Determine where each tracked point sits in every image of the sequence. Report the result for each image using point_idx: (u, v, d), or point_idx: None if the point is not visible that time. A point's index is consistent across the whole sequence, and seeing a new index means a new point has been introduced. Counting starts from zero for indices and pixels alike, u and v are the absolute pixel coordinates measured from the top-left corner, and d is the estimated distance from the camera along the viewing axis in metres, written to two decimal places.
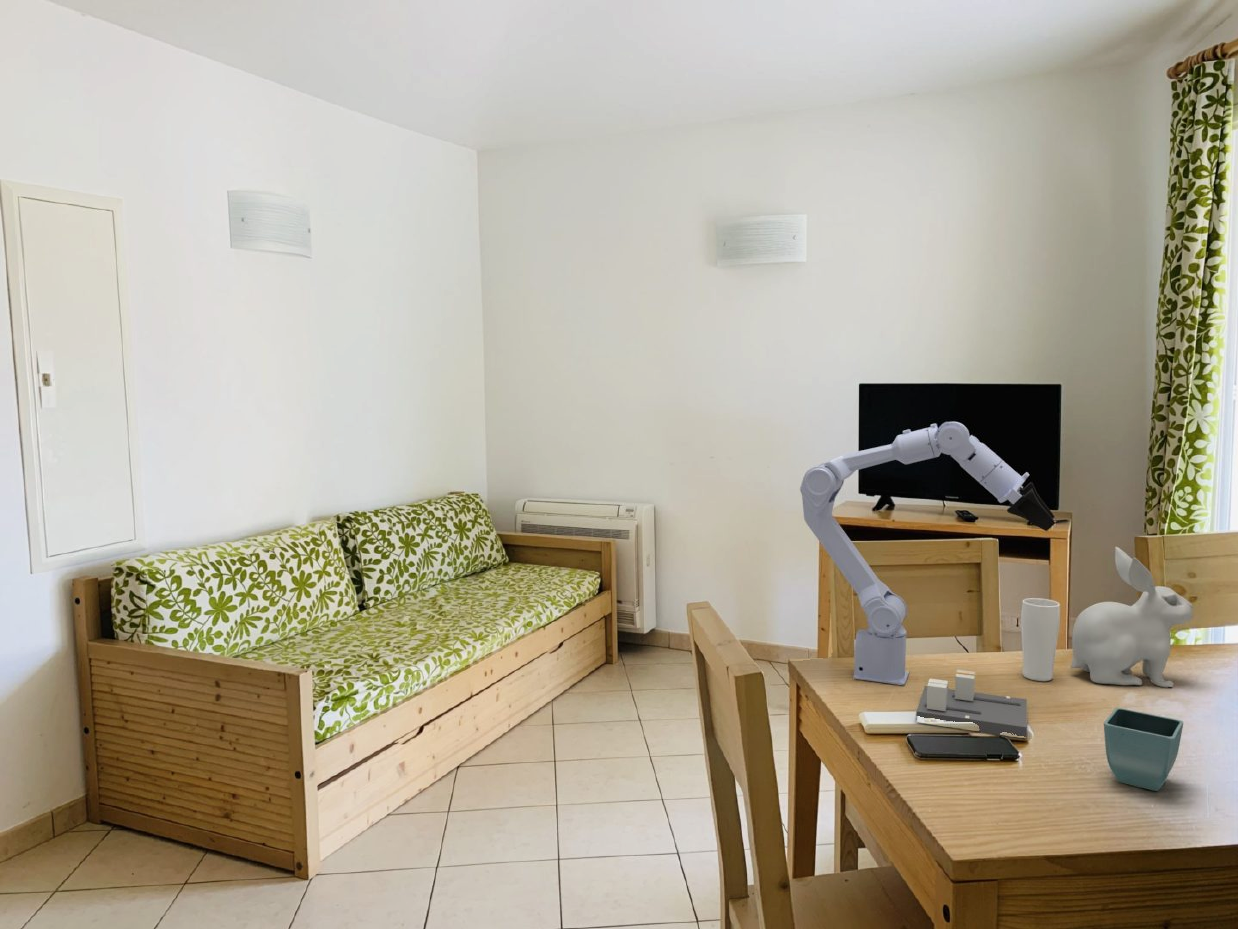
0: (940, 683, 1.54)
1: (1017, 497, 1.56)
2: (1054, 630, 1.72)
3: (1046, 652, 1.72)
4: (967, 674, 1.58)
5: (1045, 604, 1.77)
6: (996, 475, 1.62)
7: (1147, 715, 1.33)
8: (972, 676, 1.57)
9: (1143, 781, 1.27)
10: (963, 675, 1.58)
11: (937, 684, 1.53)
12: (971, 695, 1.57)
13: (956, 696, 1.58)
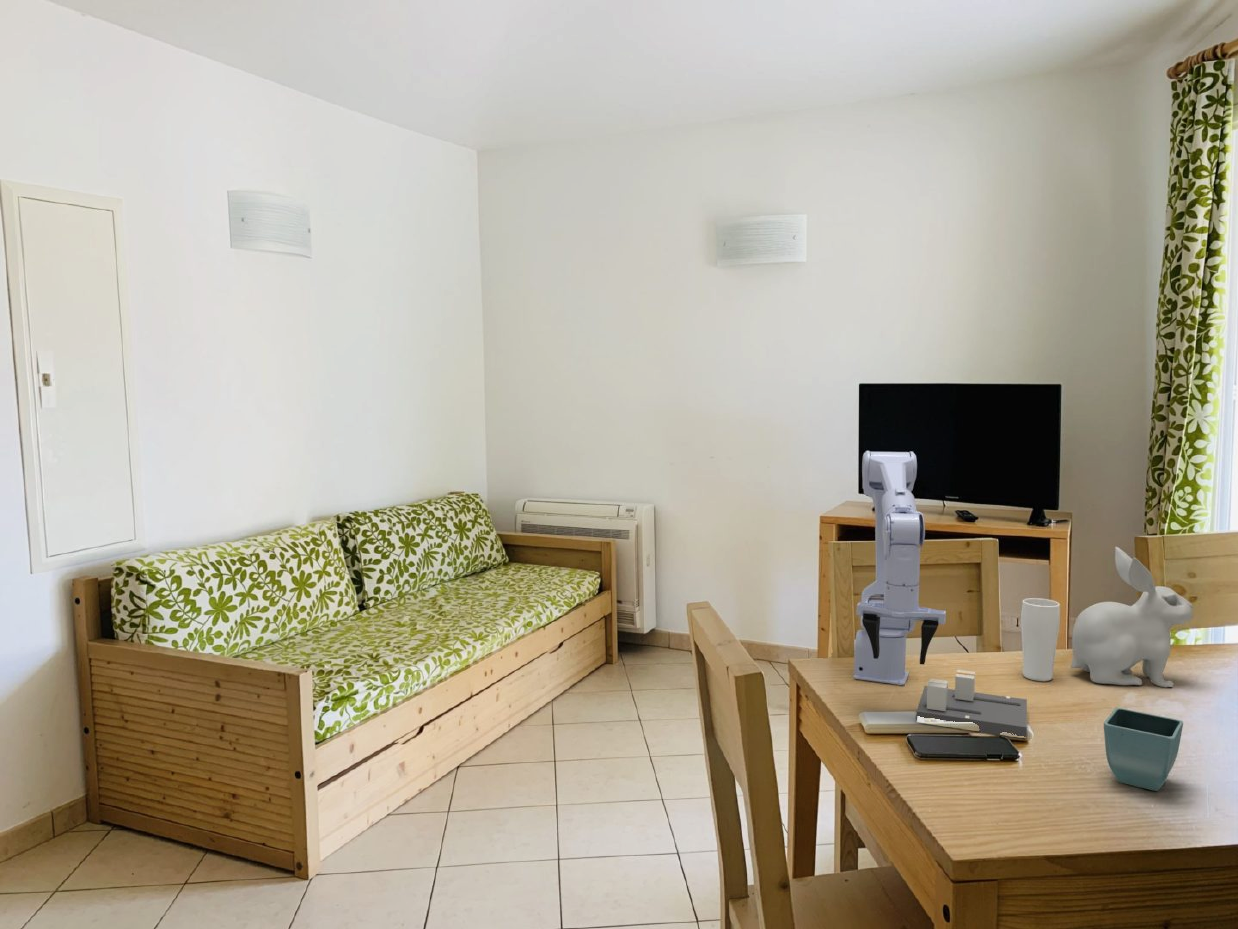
0: (940, 683, 1.54)
1: (857, 612, 1.58)
2: (1054, 630, 1.72)
3: (1046, 652, 1.72)
4: (967, 674, 1.58)
5: (1045, 604, 1.77)
6: (884, 587, 1.56)
7: (1147, 715, 1.33)
8: (972, 676, 1.57)
9: (1143, 781, 1.27)
10: (963, 675, 1.58)
11: (937, 684, 1.53)
12: (971, 695, 1.57)
13: (956, 696, 1.58)
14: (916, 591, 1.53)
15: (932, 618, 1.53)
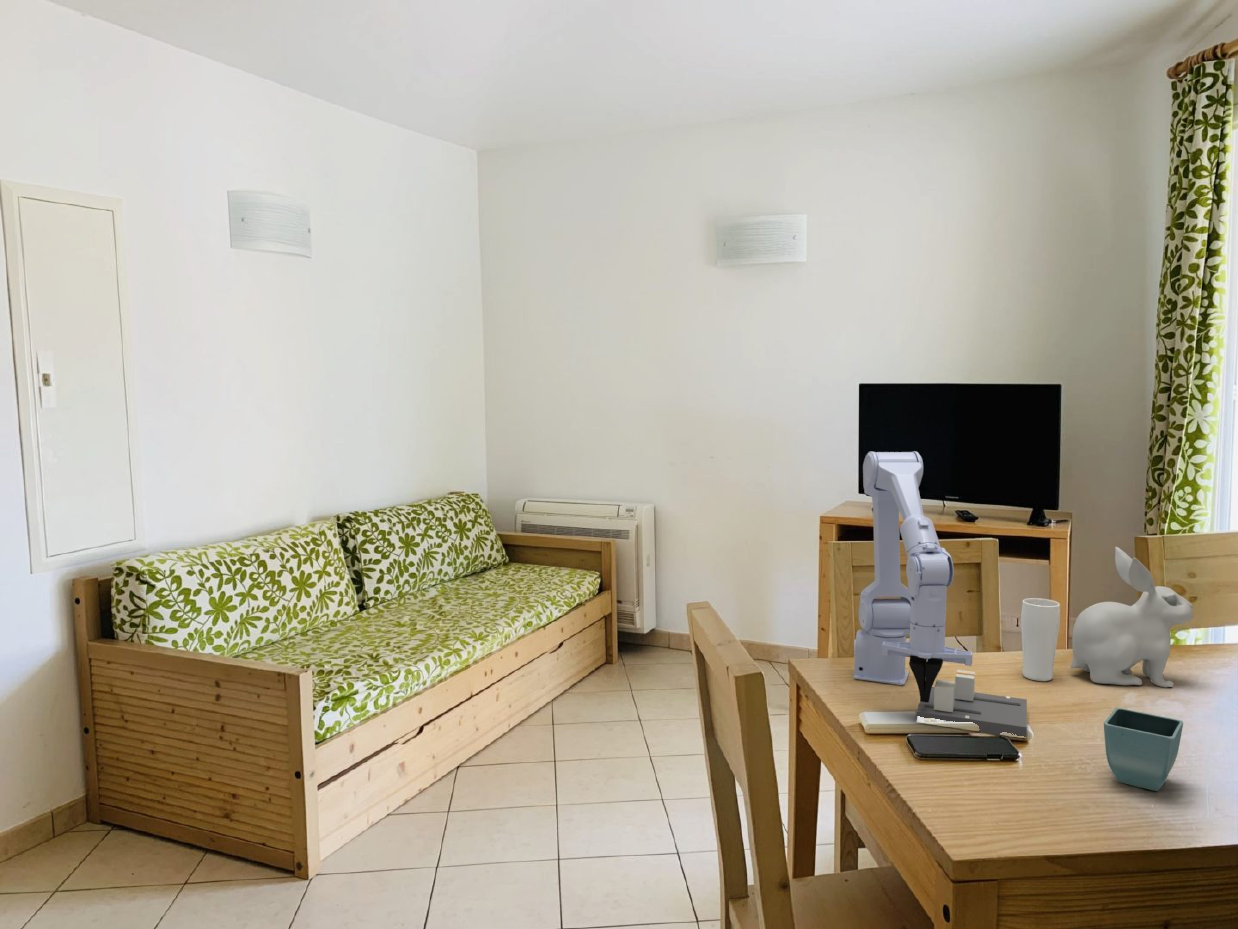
0: (947, 684, 1.53)
1: (882, 652, 1.57)
2: (1054, 630, 1.72)
3: (1046, 652, 1.72)
4: (967, 674, 1.58)
5: (1045, 604, 1.77)
6: (909, 627, 1.55)
7: (1147, 715, 1.33)
8: (972, 676, 1.57)
9: (1143, 781, 1.27)
10: (963, 675, 1.58)
11: (944, 685, 1.53)
12: (971, 695, 1.57)
13: (956, 696, 1.58)
14: (943, 631, 1.52)
15: (959, 659, 1.52)
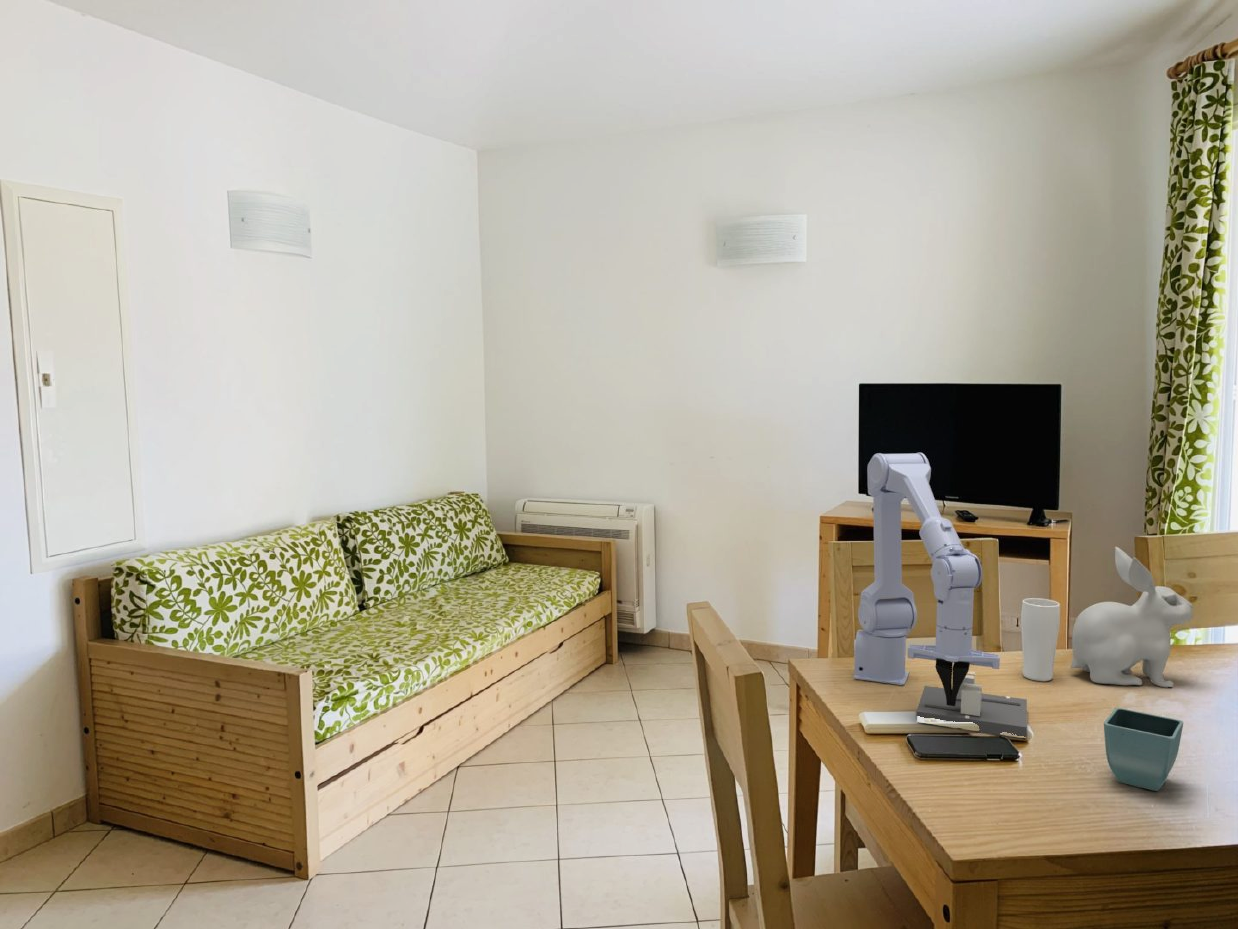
0: (974, 687, 1.51)
1: None
2: (1054, 630, 1.72)
3: (1046, 652, 1.72)
4: (967, 674, 1.58)
5: (1045, 604, 1.77)
6: (936, 630, 1.53)
7: (1147, 715, 1.33)
8: (972, 676, 1.57)
9: (1143, 781, 1.27)
10: None
11: (971, 689, 1.51)
12: None
13: None
14: (970, 634, 1.50)
15: (986, 662, 1.50)
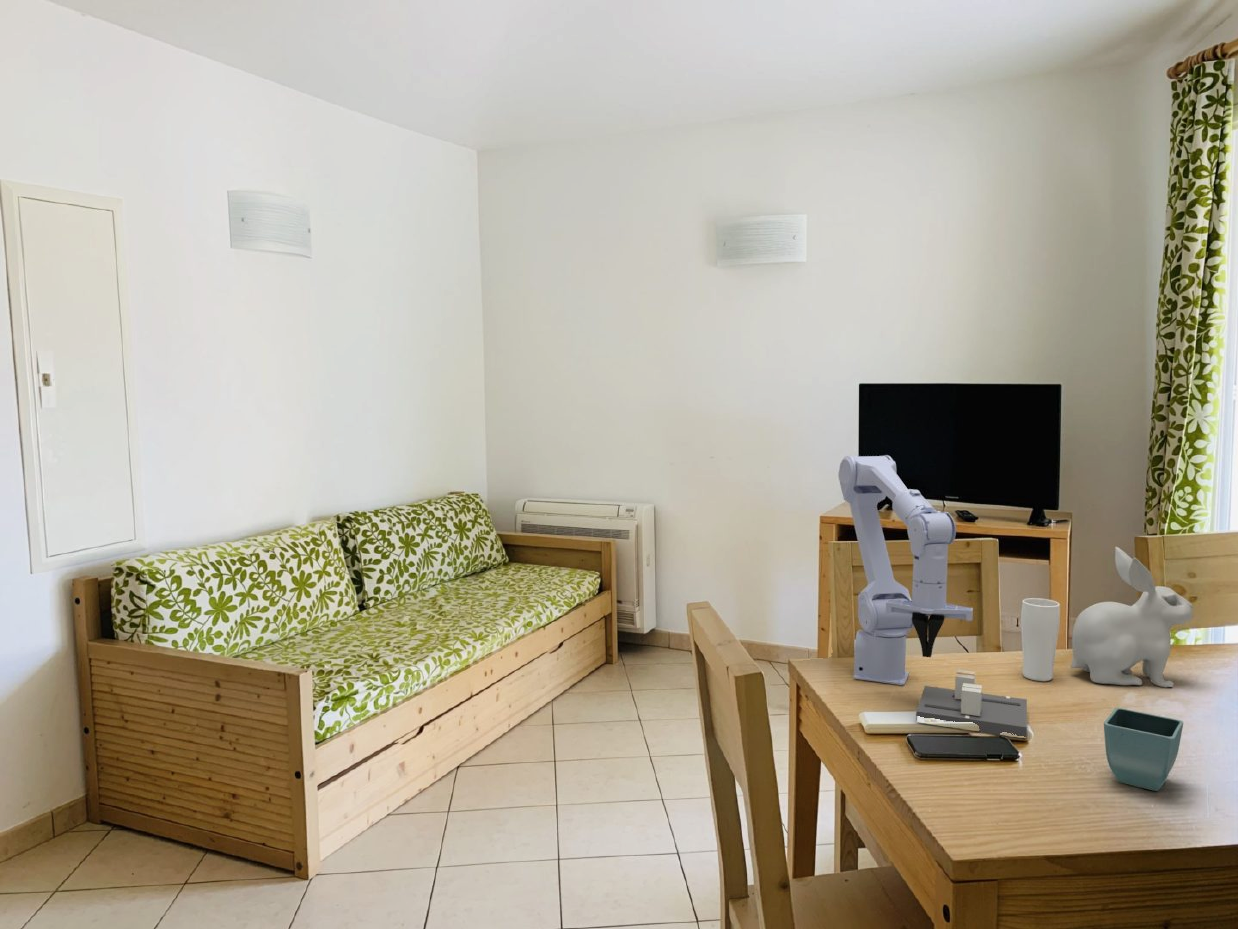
0: (974, 687, 1.51)
1: (886, 609, 1.63)
2: (1054, 630, 1.72)
3: (1046, 652, 1.72)
4: (967, 674, 1.58)
5: (1045, 604, 1.77)
6: None
7: (1147, 715, 1.33)
8: (972, 676, 1.57)
9: (1143, 781, 1.27)
10: (963, 675, 1.58)
11: (971, 689, 1.51)
12: None
13: (956, 696, 1.58)
14: (944, 588, 1.58)
15: (959, 615, 1.58)
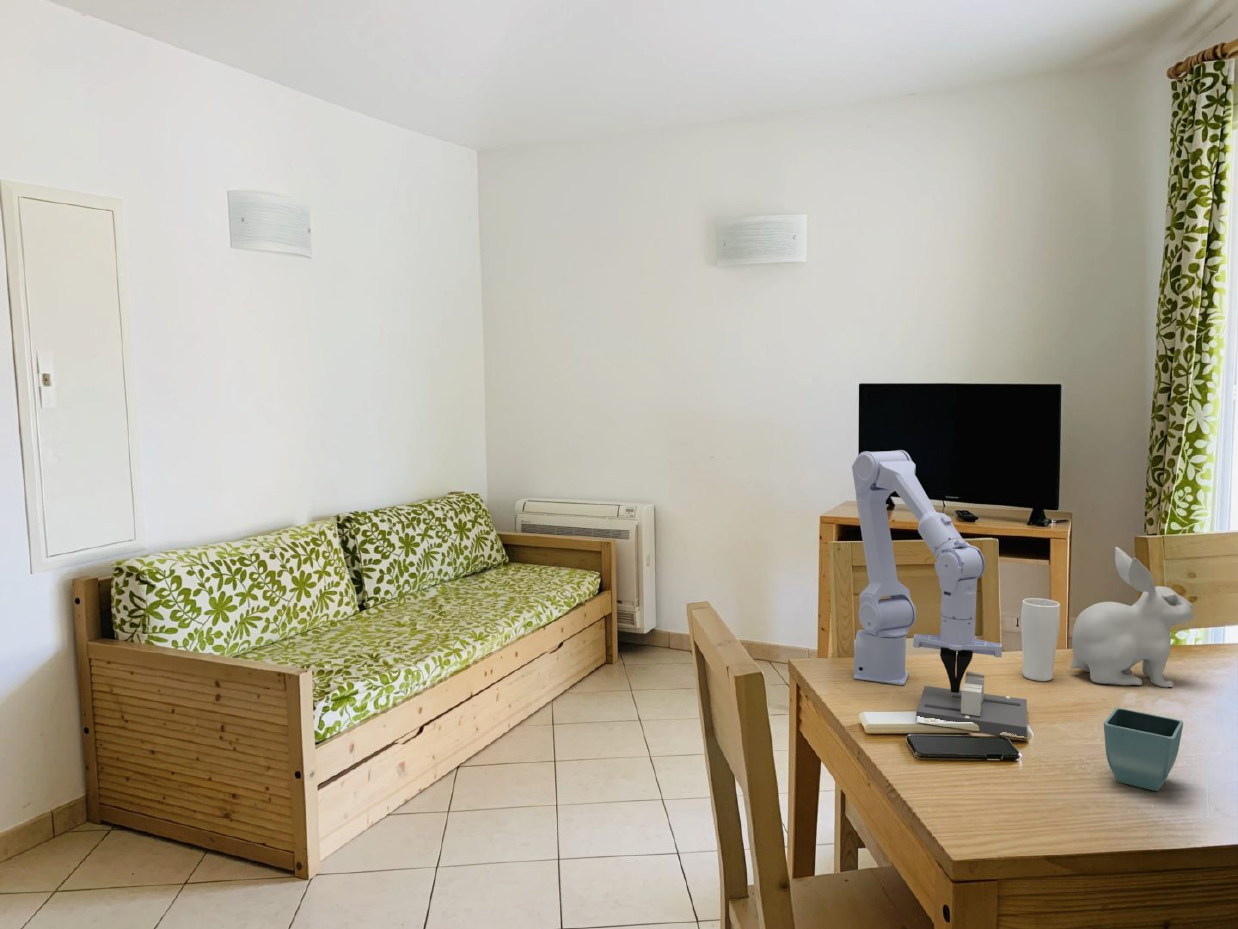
0: (974, 687, 1.51)
1: (913, 644, 1.61)
2: (1054, 630, 1.72)
3: (1045, 652, 1.72)
4: (977, 675, 1.58)
5: (1045, 604, 1.77)
6: None
7: (1147, 715, 1.33)
8: (982, 677, 1.57)
9: (1143, 781, 1.27)
10: (973, 676, 1.57)
11: (971, 689, 1.51)
12: None
13: None
14: (973, 624, 1.56)
15: (988, 651, 1.56)
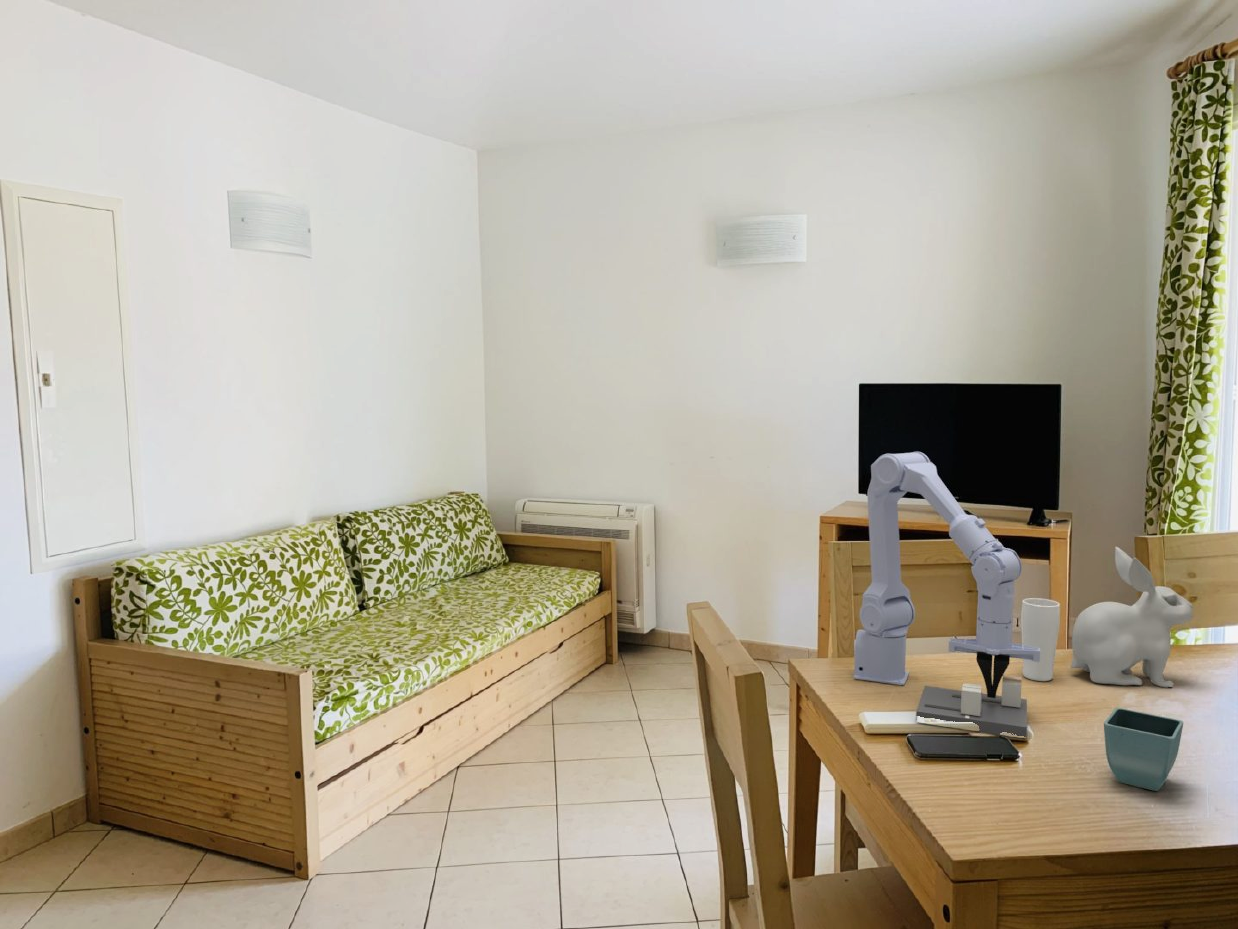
0: (974, 687, 1.51)
1: None
2: (1054, 630, 1.72)
3: (1045, 652, 1.72)
4: (1014, 680, 1.55)
5: (1045, 604, 1.77)
6: None
7: (1147, 715, 1.33)
8: (1019, 682, 1.54)
9: (1143, 781, 1.27)
10: (1010, 681, 1.55)
11: (971, 689, 1.51)
12: (1018, 701, 1.54)
13: (1003, 702, 1.55)
14: (1010, 628, 1.54)
15: (1026, 655, 1.54)
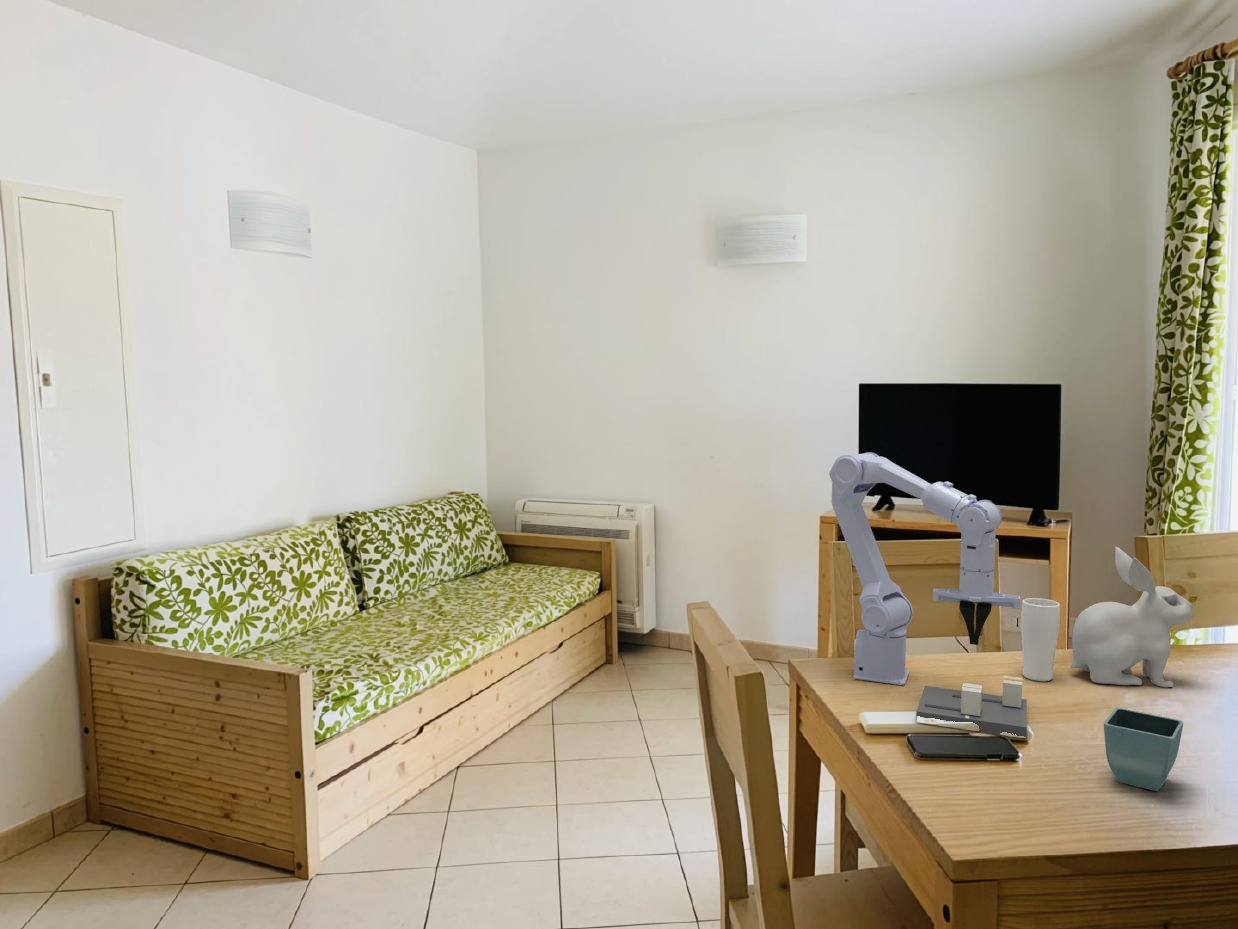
0: (974, 687, 1.51)
1: None
2: (1054, 630, 1.72)
3: (1045, 652, 1.72)
4: (1015, 680, 1.55)
5: (1045, 604, 1.77)
6: None
7: (1147, 715, 1.33)
8: (1020, 682, 1.54)
9: (1143, 781, 1.27)
10: (1011, 681, 1.55)
11: (971, 689, 1.51)
12: (1019, 701, 1.53)
13: (1003, 702, 1.55)
14: (992, 577, 1.60)
15: (1007, 603, 1.60)
